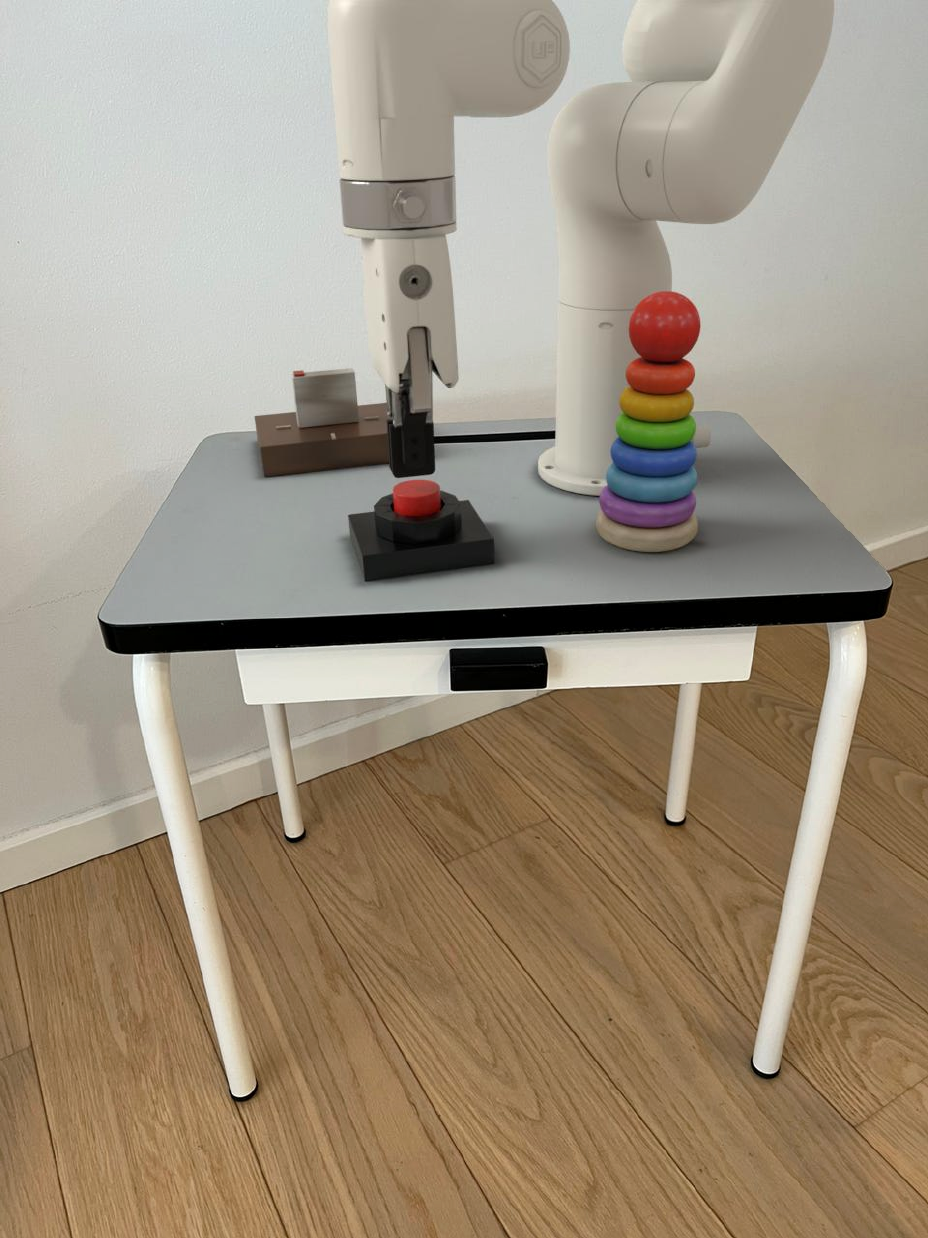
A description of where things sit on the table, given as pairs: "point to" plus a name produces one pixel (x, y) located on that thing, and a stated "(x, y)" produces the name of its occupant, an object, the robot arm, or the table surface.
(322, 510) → the table surface
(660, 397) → the stacking toy
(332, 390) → the grey rectangular block
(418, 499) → the button
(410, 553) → the switch block
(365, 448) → the brown base block
